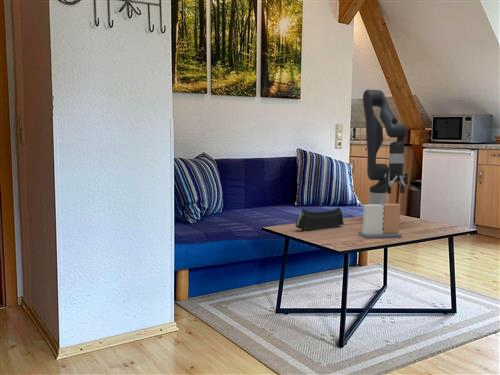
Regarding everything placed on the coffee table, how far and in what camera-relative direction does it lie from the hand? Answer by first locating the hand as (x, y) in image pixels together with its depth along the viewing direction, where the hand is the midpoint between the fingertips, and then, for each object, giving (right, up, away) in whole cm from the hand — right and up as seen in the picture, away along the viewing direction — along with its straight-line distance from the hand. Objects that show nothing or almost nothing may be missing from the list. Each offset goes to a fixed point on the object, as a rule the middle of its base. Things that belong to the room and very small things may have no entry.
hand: (395, 193), depth 264 cm
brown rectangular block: (-7, -19, -16) cm, 26 cm away
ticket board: (-13, -21, -17) cm, 29 cm away
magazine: (-40, -19, -1) cm, 44 cm away
